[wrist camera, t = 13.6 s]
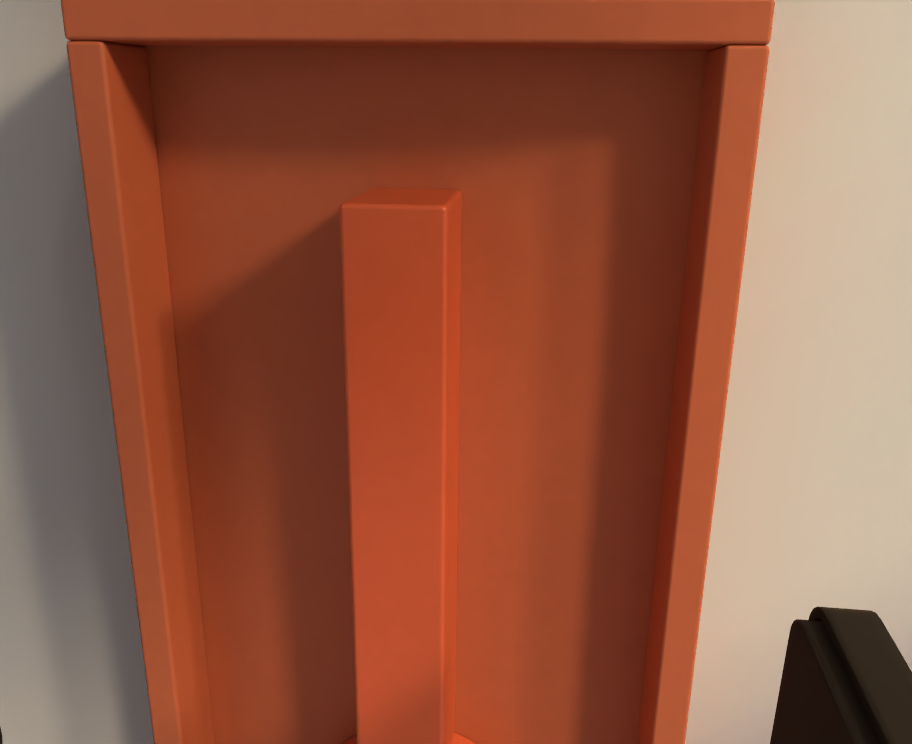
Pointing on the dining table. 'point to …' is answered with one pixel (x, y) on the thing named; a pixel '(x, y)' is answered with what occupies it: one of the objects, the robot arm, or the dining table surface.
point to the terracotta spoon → (403, 457)
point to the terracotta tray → (481, 337)
